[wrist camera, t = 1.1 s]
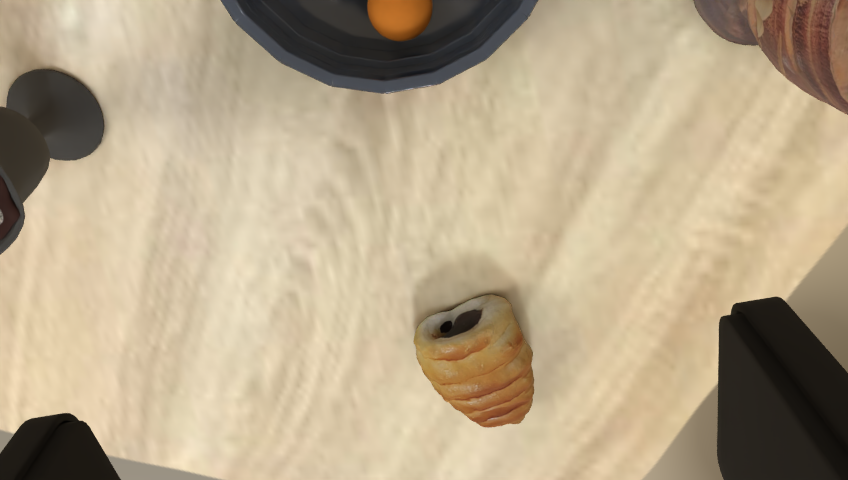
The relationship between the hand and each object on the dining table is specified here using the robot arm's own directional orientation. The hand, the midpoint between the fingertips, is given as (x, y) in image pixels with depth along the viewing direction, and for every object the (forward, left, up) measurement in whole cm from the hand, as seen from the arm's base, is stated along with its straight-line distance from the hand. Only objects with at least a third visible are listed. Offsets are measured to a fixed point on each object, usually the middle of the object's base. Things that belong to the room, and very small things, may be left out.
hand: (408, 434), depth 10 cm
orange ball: (-2, 0, -25) cm, 25 cm away
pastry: (+19, +1, -27) cm, 33 cm away
